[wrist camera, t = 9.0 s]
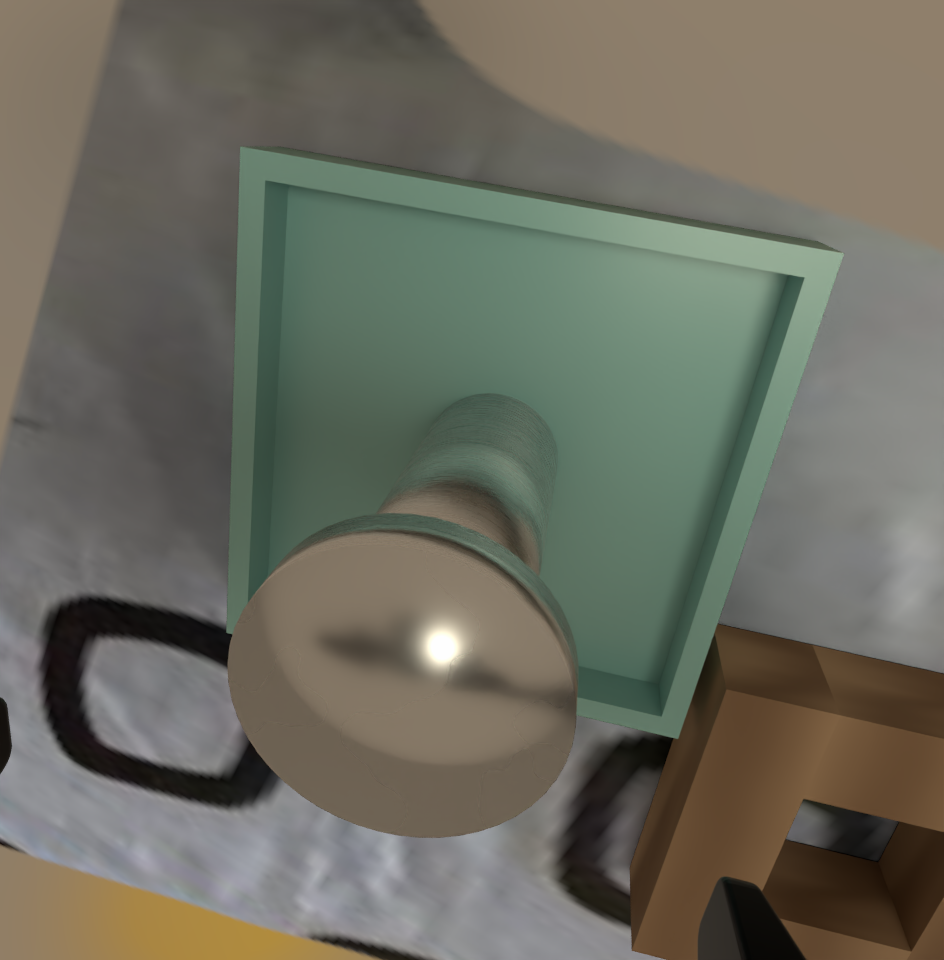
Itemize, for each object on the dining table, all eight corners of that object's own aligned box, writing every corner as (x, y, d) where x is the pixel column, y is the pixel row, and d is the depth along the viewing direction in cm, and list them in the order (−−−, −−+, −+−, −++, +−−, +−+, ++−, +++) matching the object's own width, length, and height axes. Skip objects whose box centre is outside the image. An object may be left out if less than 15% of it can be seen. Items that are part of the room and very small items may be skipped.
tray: (818, 241, 18) (844, 253, 16) (672, 688, 23) (678, 739, 21) (279, 146, 19) (240, 146, 17) (258, 593, 24) (226, 632, 22)
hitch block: (1079, 704, 21) (1147, 785, 19) (934, 943, 25) (973, 1039, 23) (712, 622, 22) (726, 689, 19) (629, 867, 26) (631, 950, 24)
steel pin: (611, 382, 19) (613, 592, 10) (568, 563, 21) (537, 871, 12) (407, 342, 20) (232, 508, 11) (384, 523, 22) (223, 792, 13)
